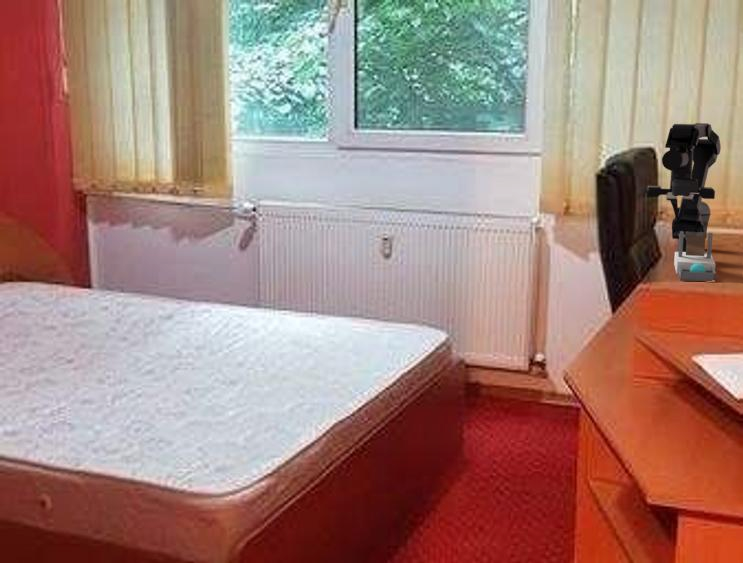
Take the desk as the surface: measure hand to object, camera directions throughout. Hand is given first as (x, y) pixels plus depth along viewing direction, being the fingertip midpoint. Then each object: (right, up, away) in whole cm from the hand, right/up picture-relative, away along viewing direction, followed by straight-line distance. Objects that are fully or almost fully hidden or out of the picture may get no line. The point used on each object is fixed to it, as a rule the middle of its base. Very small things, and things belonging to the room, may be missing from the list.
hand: (677, 221), depth 271 cm
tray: (0, -17, -15) cm, 23 cm away
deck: (+4, -14, -2) cm, 14 cm away
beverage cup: (+16, -7, +31) cm, 36 cm away
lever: (+4, -10, -3) cm, 11 cm away
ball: (0, -14, -18) cm, 23 cm away
